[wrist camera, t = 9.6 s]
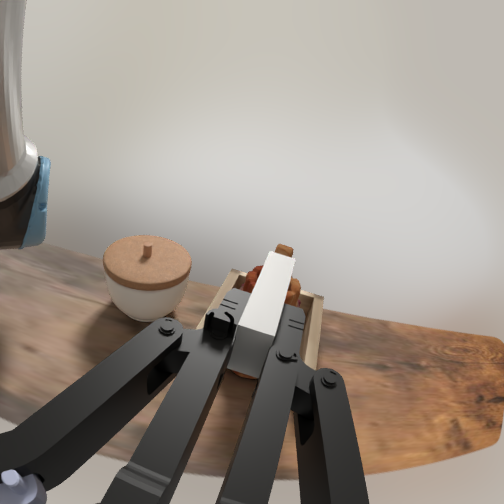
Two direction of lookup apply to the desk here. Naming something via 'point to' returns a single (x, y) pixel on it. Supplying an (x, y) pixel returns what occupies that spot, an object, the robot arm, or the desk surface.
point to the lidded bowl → (146, 276)
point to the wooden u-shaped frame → (309, 304)
